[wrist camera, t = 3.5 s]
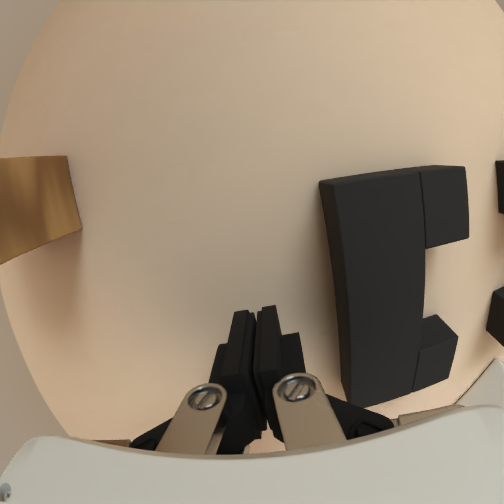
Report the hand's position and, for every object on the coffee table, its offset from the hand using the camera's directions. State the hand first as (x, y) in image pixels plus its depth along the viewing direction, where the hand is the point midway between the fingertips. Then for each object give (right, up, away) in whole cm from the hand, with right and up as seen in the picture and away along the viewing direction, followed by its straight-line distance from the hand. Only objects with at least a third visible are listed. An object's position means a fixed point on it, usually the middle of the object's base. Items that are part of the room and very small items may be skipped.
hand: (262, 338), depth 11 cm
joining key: (-11, +6, +1) cm, 13 cm away
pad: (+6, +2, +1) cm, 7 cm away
